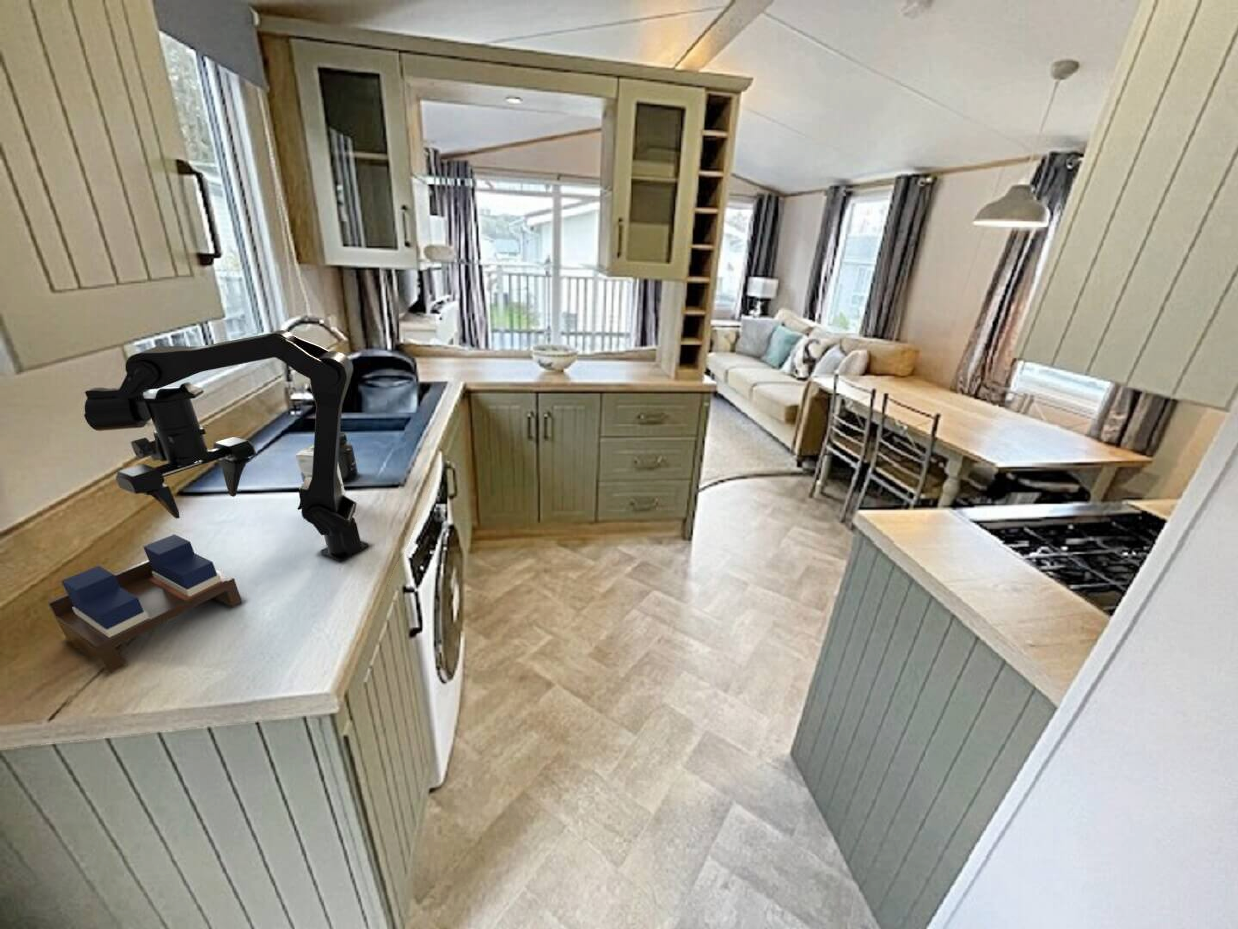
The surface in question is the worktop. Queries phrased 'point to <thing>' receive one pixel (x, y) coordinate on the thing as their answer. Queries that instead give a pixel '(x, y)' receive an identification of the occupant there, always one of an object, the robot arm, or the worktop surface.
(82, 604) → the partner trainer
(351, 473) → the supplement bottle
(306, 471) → the syrup box
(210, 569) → the trainer
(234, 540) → the worktop surface
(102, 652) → the shoe rack
